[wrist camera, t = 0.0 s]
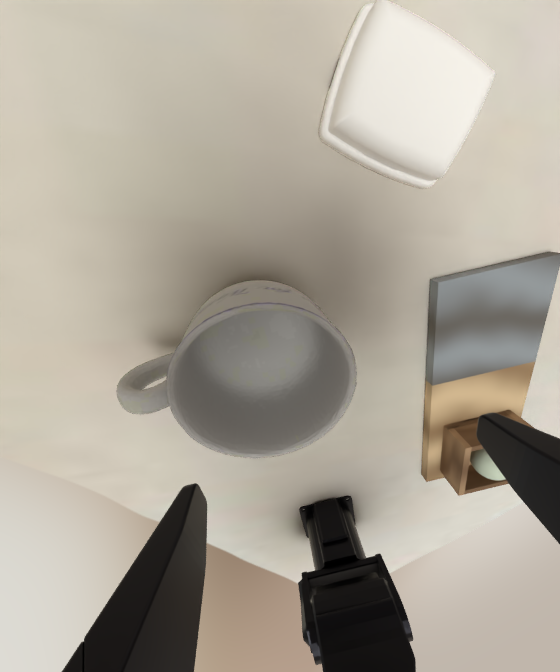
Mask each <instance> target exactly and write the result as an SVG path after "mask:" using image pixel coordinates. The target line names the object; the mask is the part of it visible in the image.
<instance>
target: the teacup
mask: <svg viewBox="0 0 560 672" xmlns="http://www.w3.org/2000/svg"><path fill="white" fill-rule="evenodd" d="M356 375H357V372H356V363H355V358H354V355H353V352H352V349H351V348H350V346H349V344H348V342H347V341H346V339H345V338H344V337H343V335H342V334H341V333H340V332H339V331H338V329H337V328H336V327H334V326H333V325H332V324H331V322H330V321H329V320H328V318H327V317H326V316H325V314H324V313H323V312H322V311H321V310H320V309H319V307H318V306H317V305H316V304H315V303H314V302H313V301H312V300H311V299H310V298H308V297H307V296H306V295H305V294H303V293H302V292H300V291H298V290H297V289H295V288H293V287H290V286H288V285H286V284H282V283H279V282H274V281H268V280H252V281H245V282H241V283H237V284H234V285H231V286H229V287H226V288H224V289H222V290H221V291H219V292H218V293H216V294H214V295H213V296H212V297H211V298H210V299H208V300H207V301H206V302H205V303H204V304H203V305H202V307H201V308H200V309H199V310H198V312H197V313H196V314H195V316H194V317H193V319H192V321H191V323H190V324H189V326H188V328H187V330H186V333H185V335H184V337H183V339H182V341H181V343H180V344H179V346H178V347H177V349H176V350H175V352H174V353H171V354H168V355H165V356H162V357H160V358H157V359H154V360H151V361H149V362H146V363H144V364H142V365H139V366H137V367H135V368H134V369H132V370H131V371H129V372H128V373H127V374H125V375H124V376H123V377H122V378H121V380H120V381H119V383H118V385H117V391H116V392H117V398H118V400H119V402H120V404H121V406H122V407H123V408H124V409H125V410H126V411H128V412H130V413H132V414H148V413H153V412H156V411H159V410H161V409H163V408H166V407H168V406H170V409H171V411H172V413H173V415H174V417H175V419H176V420H177V422H178V423H179V424H180V426H181V427H183V429H184V430H185V431H186V433H187V434H188V435H189V436H190V437H192V438H193V439H194V440H195V441H197V442H198V443H200V444H202V445H203V446H205V447H207V448H209V449H212V450H214V451H217V452H220V453H223V454H226V455H231V456H235V457H244V458H267V457H274V456H280V455H283V454H287V453H290V452H293V451H296V450H298V449H301V448H303V447H305V446H307V445H310V444H311V443H313V442H315V441H316V440H318V439H319V438H321V437H322V436H324V435H325V434H326V433H327V432H328V431H330V430H331V429H332V428H333V427H334V426H335V425H336V423H337V422H338V421H339V420H340V418H341V417H342V416H343V414H344V413H345V411H346V409H347V407H348V406H349V404H350V402H351V400H352V397H353V394H354V391H355V387H356V384H357V383H356ZM165 376H167V380H165V381H164V382H162V383H160V384H158V385H156V386H154V387H152V388H148V389H143V388H145V387H146V386H147V385H149V384H151V383H153V382H154V381H156V380H159V379H161V378H163V377H165ZM142 389H143V390H142Z"/></svg>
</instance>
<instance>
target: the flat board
mask: <svg viewBox="0 0 560 672" xmlns="http://www.w3.org/2000/svg"><path fill="white" fill-rule="evenodd" d="M559 267H560V253H555V252H547V253H542V254H538V255H534V256H529V257H525V258H521V259H516V260H512V261H508V262H504V263H499V264H495V265H491V266H486V267H482V268H478V269H474V270H469V271H465V272H461V273H456V274H452V275H448V276H443V277H439V278H435V279H431V280H430V299H429V321H428V343H427V365H426V386H425V408H424V430H423V452H422V476H423V477H424V479H425V480H426V482H428V481H432V480H436V479H440V478H444V475H443V474H442V473H441V471H440V462H441V451H442V440H443V429H444V425H447V424H451V423H455V422H459V421H464V420H468V419H472V418H476V417H480V415H483V414H487V413H497V412H501V411H505V410H511V411H512V412H514V413H515V414H516V415H518V416H519V417H520V418H521V415H522V411H523V407H524V403H525V399H526V395H527V391H528V387H529V383H530V380H531V376H532V372H533V368H534V364H535V360H536V356H537V352H538V348H539V345H540V341H541V337H542V333H543V329H544V325H545V321H546V317H547V313H548V309H549V306H550V302H551V298H552V294H553V290H554V286H555V282H556V278H557V274H558V271H559Z"/></svg>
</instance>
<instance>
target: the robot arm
mask: <svg viewBox="0 0 560 672" xmlns="http://www.w3.org/2000/svg"><path fill="white" fill-rule="evenodd" d="M476 436H477V439H478V441H479V443H480V444H481V445H482V447H483V448H484V450H485V451H486V452H487V454H488V455H489V457H490V458H491V459H492V461H493V462H494V463H495V465H496V466H497V468H498V469H499V470H500V472H501V473H502V475H503V476H504V477H505V479H506V480H507V482H508V483H509V484H510V486H511V487H512V488H513V490H514V491H515V492H516V493H517V494H518V496H519V497H520V498H521V499H522V500H523V502H524V503H525V504H526V505H527V506H528V507H529V509H530V510H531V511H532V512H533V513H534V514H535V516H536V517H537V518H538V519H539V520H540V521H541V523H542V524H543V525H544V526H545V527H546V528H547V530H548V531H549V532H550V533H551V534H552V536H553V537H554V538H555V539H556V540H557V541H558V543H559V544H560V439H559V438H557V437H554V436H552V435H549V434H547V433H544V432H542V431H539V430H537V429H534V428H532V427H529V426H527V425H525V424H522V423H520V422H517V421H515V420H512V419H510V418H507V417H505V416H502V415H500V414H497V413H487V414H483V415H480V417H479V419H478V425H477V431H476ZM347 498H349V499H348V500H346V499H347ZM302 509H305V510H302ZM299 511H300V515H301V518H302V522H303V525H304V529H305V532H306V536H307V537H308V538H309V540H310V546H311V551H312V556H313V562H314V567H315V571H311V572H303V573H302V580H301V581H300V582H299V583H298V585H299V592H300V600H301V613H302V632H303V638H304V641H305V642H306V643H307V644H308V645H309V646H310V649H311V653H313V656H314V660H315V664H316V665H318V664H322V667H323V672H416V667H415V657H414V654H413V651H412V648H411V646H410V643H409V642H410V641H413V636H412V631H411V628H410V624H409V622H408V618H407V615H406V612H405V609H404V607H403V604H402V601H401V599H400V597H399V594H398V592H397V590H396V588H395V585H394V583H393V581H392V579H391V576H390V574H389V572H388V570H387V568H386V565H385V563H384V561H383V559H382V556H381V554H376V555H375V556H373V557H369V558H366V556H365V553H364V551H363V548H362V545H361V542H360V539H359V536H358V533H357V530H356V527H355V518H354V511H353V504H352V498H351V496H344V497H340V498H336V499H332V500H327V501H323V502H319V503H315V504H311V505H307V506H303V507H301V508H300V509H299ZM206 538H207V501H206V498H205V496H204V494H203V493H202V491H201V489H200V487H199V485H198V484H191V485H187V486H184V487H183V488H182V489H181V491H180V492H179V494H178V495H177V497H176V498H175V500H174V501H173V503H172V505H171V506H170V508H169V509H168V511H167V512H166V514H165V515H164V517H163V518H162V520H161V521H160V523H159V524H158V526H157V528H156V529H155V531H154V532H153V534H152V535H151V537H150V538H149V540H148V541H147V543H146V544H145V546H144V547H143V549H142V550H141V552H140V553H139V555H138V557H137V558H136V560H135V561H134V563H133V564H132V566H131V567H130V569H129V570H128V572H127V573H126V575H125V577H124V578H123V580H122V581H121V582H120V584H119V586H118V587H117V589H116V590H115V592H114V593H113V595H112V596H111V598H110V599H109V601H108V602H107V604H106V606H105V607H104V608H103V610H102V612H101V613H100V615H99V616H98V618H97V619H96V621H95V622H94V624H93V625H92V627H91V628H90V630H89V632H88V633H87V634H86V636H85V638H84V642H81V644H80V645H79V647H78V648H77V650H76V651H75V653H74V654H73V656H72V657H71V659H70V660H69V662H68V664H67V665H66V666H65V668H64V669H63V671H62V672H194V665H195V657H196V648H197V639H198V630H199V621H200V613H201V604H202V595H203V586H204V577H205V567H206Z"/></svg>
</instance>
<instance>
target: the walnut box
mask: <svg viewBox="0 0 560 672" xmlns="http://www.w3.org/2000/svg"><path fill="white" fill-rule="evenodd" d="M497 414H500V415H502V416H505V417H507V418H510V419H512V420H515V421H517V422H520V423H522V424H525V425H527V426H529V427H532V426H531V425H530V424H528V423H527V422H526V421H524V420H523V419H522V418H520V417H519V416H518V415H516V414H515V413H514V412H512V411H511V410H505V411H501V412H497ZM478 419H479V417H476V418H472V419H468V420H464V421H459V422H455V423H451V424H447V425H444V429H443V440H442V451H441V462H440V471H441V473H442V474H443V475H444V477H445V478H446V479H447V481H448V482H449V483H450V485H451V486H452V487H453V489H454V490H455V491H456V493H457V494H458V495H463V494H467V493H472V492H476V491H480V490H484V489H488V488H492V487H496V486H500V485H504V484H509V483H508V482H507V480H506V479H505V480H491V479H488V478H486V477H484V476H482V475H481V474H479V473H478V472H477V471H476V470H475V469H474V467H473V466H472V464H471V462H470V455H471V452H472V451H476V450H480V449H484V448H483V447H482V445H481V444H480V443H479V441H478V439H477V436H476V431H477V425H478ZM532 428H534V427H532ZM534 429H535V428H534Z"/></svg>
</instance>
